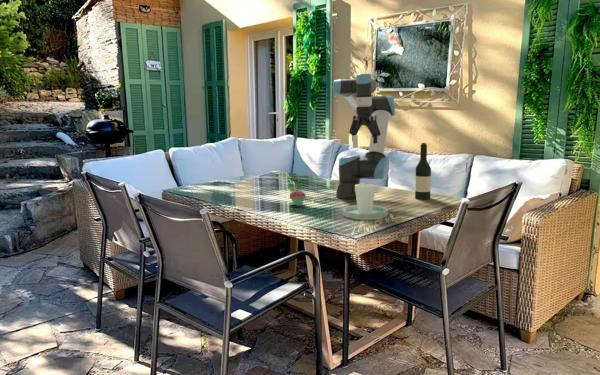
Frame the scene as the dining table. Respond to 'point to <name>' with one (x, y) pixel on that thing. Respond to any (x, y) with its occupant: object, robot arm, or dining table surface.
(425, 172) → the wine bottle
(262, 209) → the dining table surface
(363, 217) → the saucer
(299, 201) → the cupcake
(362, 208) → the foam cup
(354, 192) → the robot arm
